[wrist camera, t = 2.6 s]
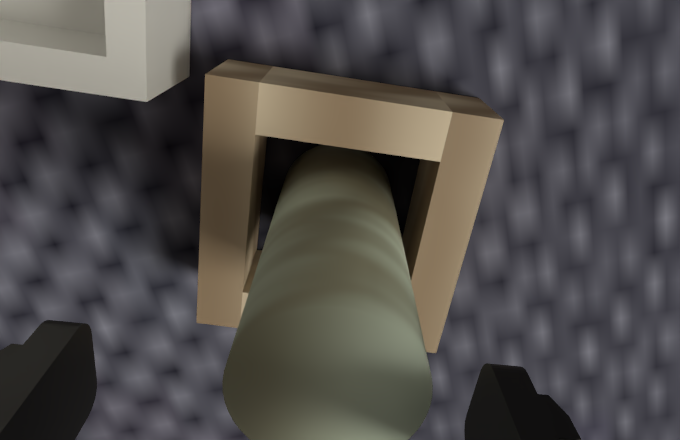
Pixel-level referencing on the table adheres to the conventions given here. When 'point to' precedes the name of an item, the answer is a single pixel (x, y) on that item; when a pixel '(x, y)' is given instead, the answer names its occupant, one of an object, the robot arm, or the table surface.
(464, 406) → the table surface
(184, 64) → the tray
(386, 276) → the dowel
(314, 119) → the holder
